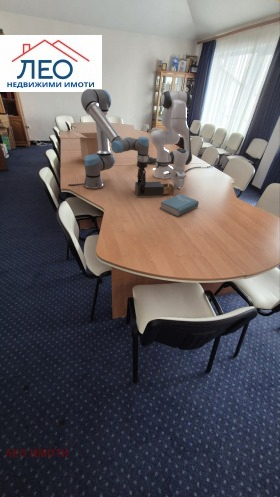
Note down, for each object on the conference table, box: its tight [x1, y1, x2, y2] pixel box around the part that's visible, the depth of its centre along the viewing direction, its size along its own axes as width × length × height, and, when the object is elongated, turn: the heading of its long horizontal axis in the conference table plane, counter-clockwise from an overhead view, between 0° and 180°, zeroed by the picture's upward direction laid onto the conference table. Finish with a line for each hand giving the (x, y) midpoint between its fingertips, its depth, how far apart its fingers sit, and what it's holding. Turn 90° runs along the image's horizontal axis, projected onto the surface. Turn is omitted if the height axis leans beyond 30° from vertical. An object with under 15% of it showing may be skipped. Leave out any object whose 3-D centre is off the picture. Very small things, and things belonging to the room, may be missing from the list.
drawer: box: [162, 182, 181, 195], centre depth 174 cm, size 24×10×6 cm, turn 102°
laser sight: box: [147, 154, 157, 165], centre depth 240 cm, size 10×22×10 cm, turn 78°
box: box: [70, 129, 98, 161], centre depth 229 cm, size 44×36×27 cm
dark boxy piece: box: [134, 181, 164, 198], centre depth 172 cm, size 20×11×8 cm, turn 102°
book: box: [159, 193, 200, 217], centre depth 155 cm, size 23×16×5 cm
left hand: (140, 190), depth 171 cm, fingers closed on dark boxy piece, 11 cm apart
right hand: (175, 189), depth 177 cm, fingers closed, pressing on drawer
